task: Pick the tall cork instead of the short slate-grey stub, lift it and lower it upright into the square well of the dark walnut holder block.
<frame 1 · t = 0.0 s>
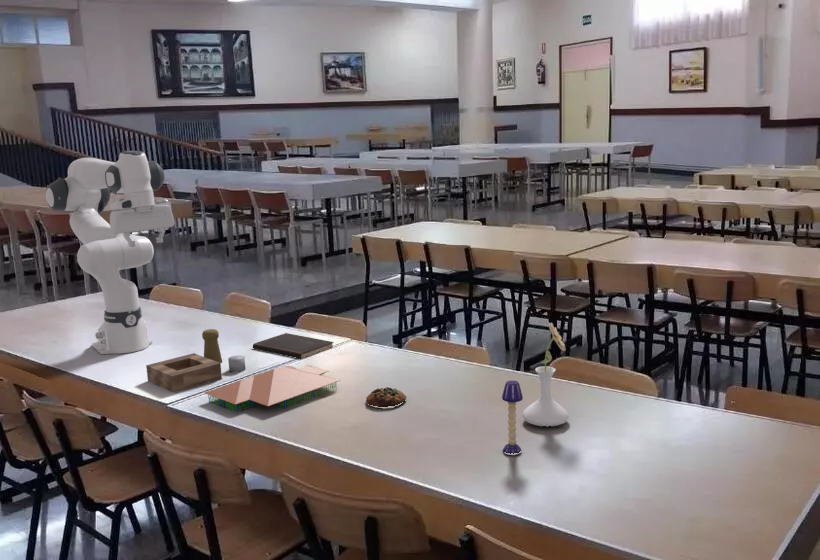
hand: (146, 244, 250), 39 cm above the table, tool pointing down, fingers open, 8 cm apart
walnut holder: (184, 379, 238), on the table
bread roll: (386, 403, 214), on the table
toy lamp: (512, 452, 179), on the table
short stub: (237, 370, 246), on the table
flower in vase: (546, 421, 196), on the table
hardcover book: (293, 349, 268), on the table
house: (277, 396, 222), on the table
cork: (213, 363, 255), on the table
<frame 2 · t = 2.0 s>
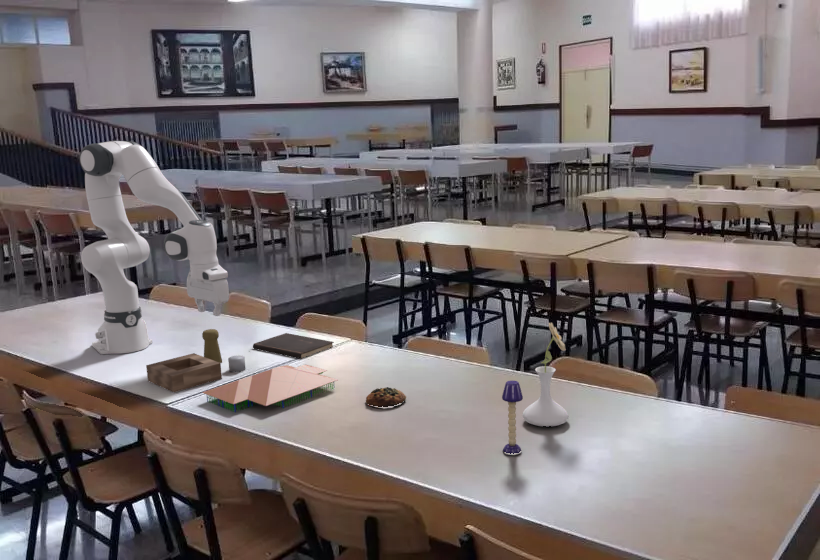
hand: (209, 313, 251), 16 cm above the table, tool pointing down, fingers open, 8 cm apart
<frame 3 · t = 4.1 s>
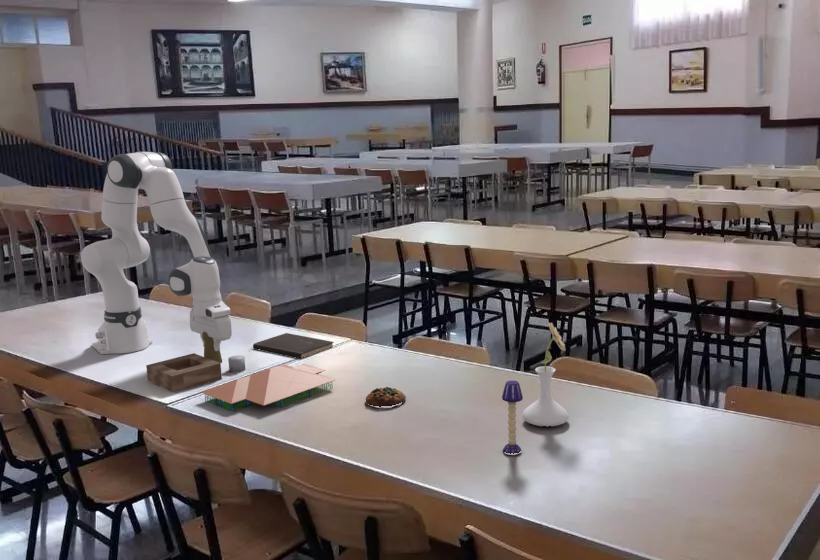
hand: (211, 348, 254), 5 cm above the table, tool pointing down, fingers closed on cork, 4 cm apart
cork: (213, 363, 255), on the table, touching gripper
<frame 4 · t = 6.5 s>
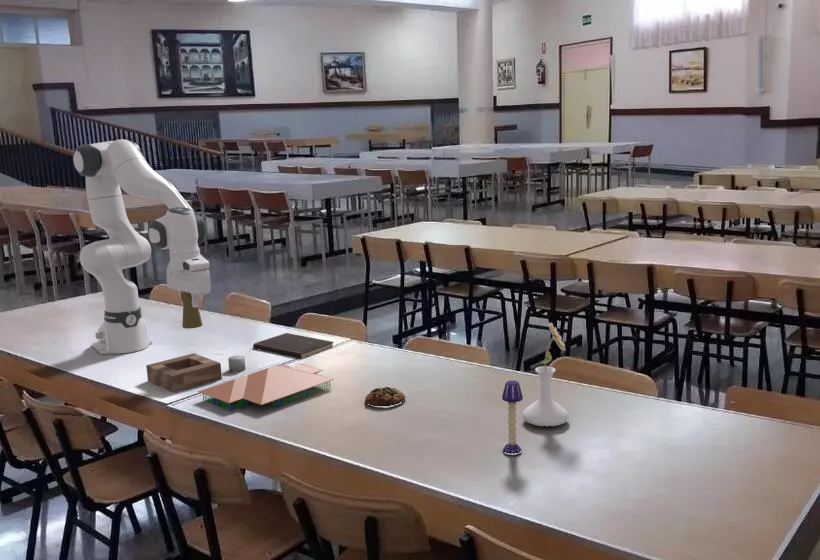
hand: (190, 305, 239), 22 cm above the table, tool pointing down, fingers closed on cork, 4 cm apart
cork: (192, 326, 241), point 15 cm above the table, touching gripper
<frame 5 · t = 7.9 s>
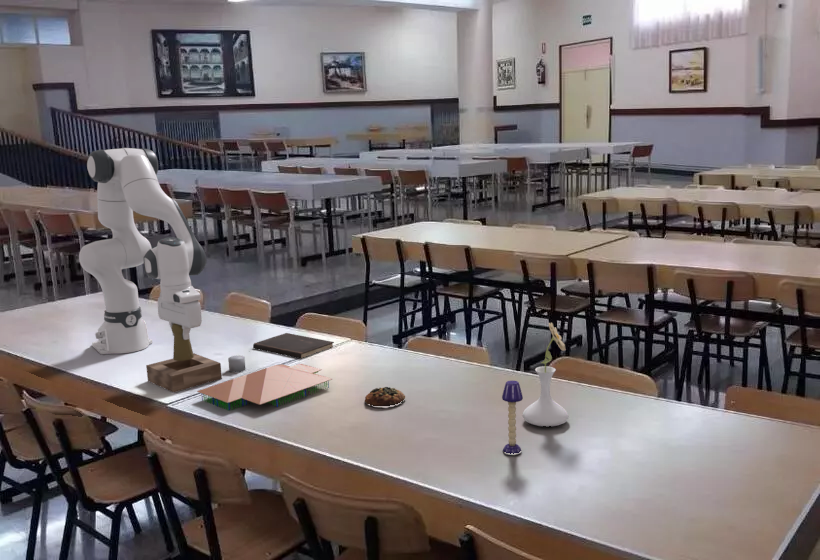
hand: (181, 337, 235), 13 cm above the table, tool pointing down, fingers closed on cork, 4 cm apart
cork: (183, 358, 236), point 7 cm above the table, touching gripper
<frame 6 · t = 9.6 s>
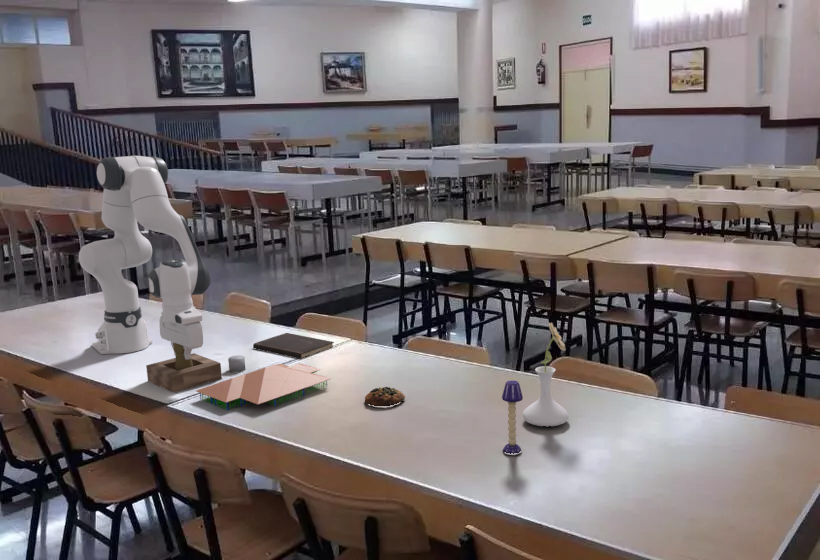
hand: (182, 357, 236), 7 cm above the table, tool pointing down, fingers closed on cork, 4 cm apart
cork: (185, 377, 238), point 1 cm above the table, touching gripper, walnut holder
when the fingers open (7 cm above the table, at t = 9.6 s): cork stays where it is, resting on walnut holder.
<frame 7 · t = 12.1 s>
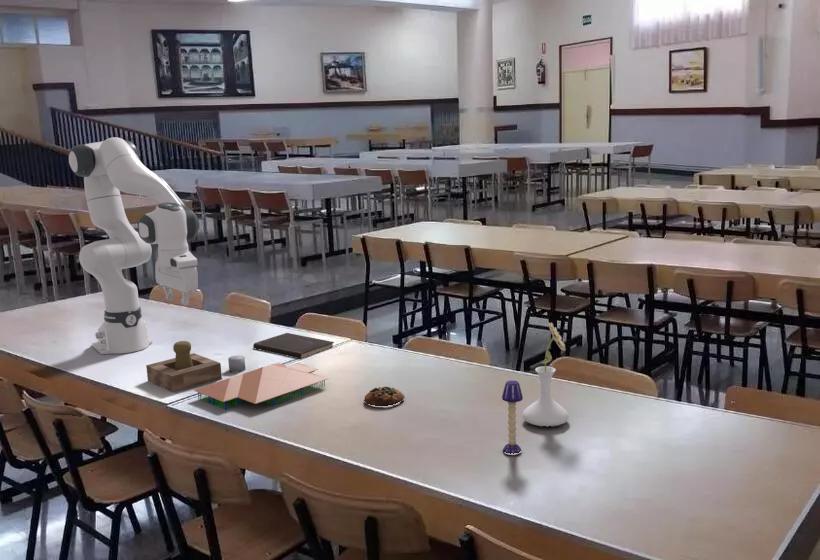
hand: (177, 302, 238), 23 cm above the table, tool pointing down, fingers open, 8 cm apart
cork: (185, 377, 238), point 1 cm above the table, touching walnut holder
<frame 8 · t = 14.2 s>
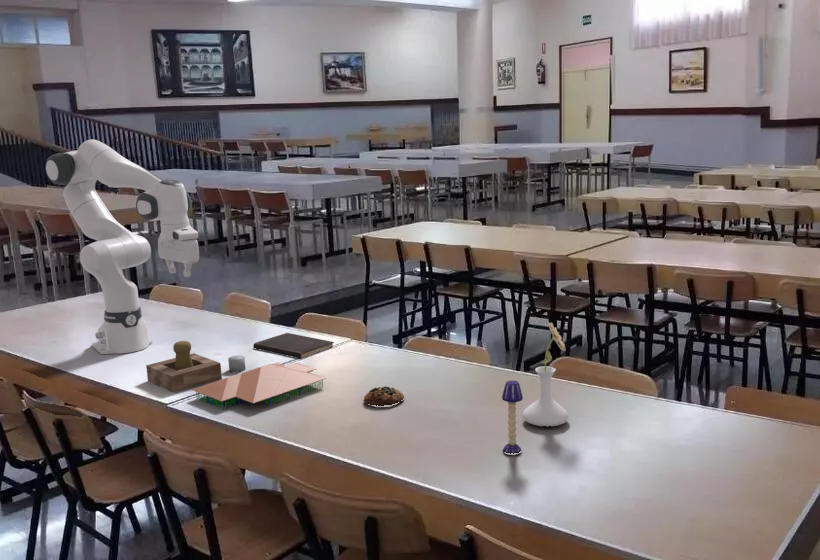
hand: (179, 274, 250), 29 cm above the table, tool pointing down, fingers open, 8 cm apart
at the end: cork 0.2 cm off-centre on the walnut holder, point 0.8 cm above the walnut holder's base; cork tilted 0°; short stub moved 0.1 cm from its start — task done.
